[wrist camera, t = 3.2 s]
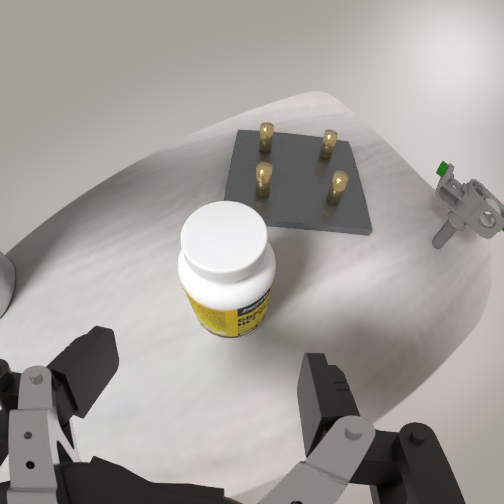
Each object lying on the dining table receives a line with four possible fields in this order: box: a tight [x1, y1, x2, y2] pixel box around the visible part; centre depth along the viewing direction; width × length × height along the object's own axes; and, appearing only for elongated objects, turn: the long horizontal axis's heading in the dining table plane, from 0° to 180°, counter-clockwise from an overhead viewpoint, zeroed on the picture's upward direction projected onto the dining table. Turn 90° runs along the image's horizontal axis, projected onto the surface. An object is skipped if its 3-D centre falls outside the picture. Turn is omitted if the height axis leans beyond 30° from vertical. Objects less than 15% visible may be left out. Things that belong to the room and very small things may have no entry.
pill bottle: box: [178, 201, 276, 339], centre depth 19 cm, size 6×6×11 cm
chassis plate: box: [224, 123, 372, 235], centre depth 31 cm, size 16×16×4 cm
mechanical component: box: [433, 161, 504, 249], centre depth 24 cm, size 3×10×10 cm, turn 48°
